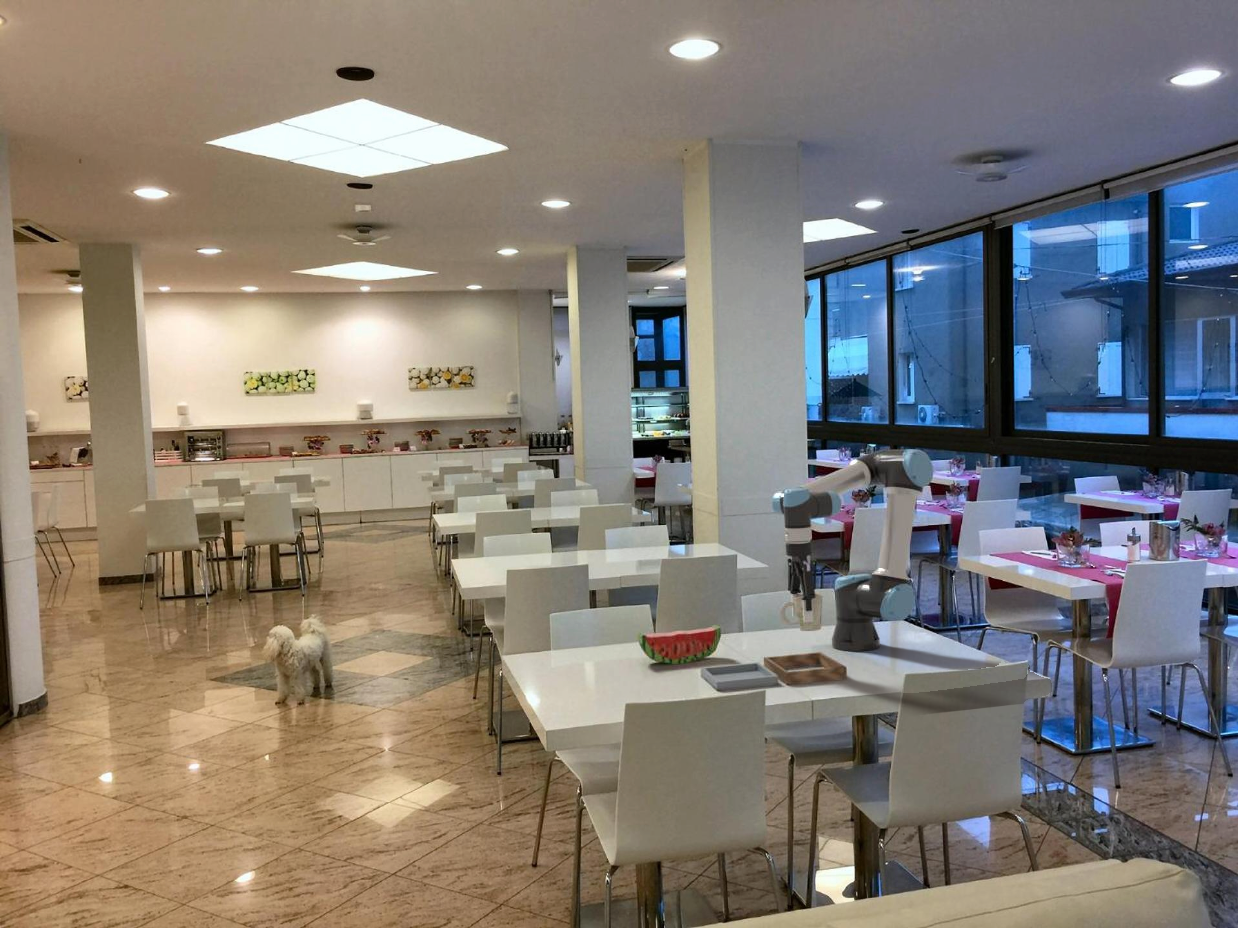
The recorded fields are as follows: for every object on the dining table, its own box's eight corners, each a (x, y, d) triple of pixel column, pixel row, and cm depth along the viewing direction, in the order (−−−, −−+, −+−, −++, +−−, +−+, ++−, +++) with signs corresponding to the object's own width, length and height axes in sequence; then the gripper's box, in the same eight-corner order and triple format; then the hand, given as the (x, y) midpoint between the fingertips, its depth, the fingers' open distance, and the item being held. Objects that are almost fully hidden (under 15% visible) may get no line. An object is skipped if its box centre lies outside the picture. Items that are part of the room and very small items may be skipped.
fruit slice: (643, 667, 307) (641, 635, 306) (638, 663, 313) (636, 631, 312) (723, 659, 313) (721, 627, 312) (716, 654, 319) (715, 624, 318)
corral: (820, 663, 301) (820, 651, 301) (846, 678, 282) (846, 666, 282) (764, 668, 298) (763, 657, 298) (786, 685, 279) (786, 672, 278)
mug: (825, 631, 284) (822, 596, 284) (781, 633, 287) (778, 598, 287) (825, 626, 292) (822, 592, 293) (782, 628, 295) (779, 595, 295)
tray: (759, 670, 296) (758, 662, 296) (778, 684, 279) (778, 675, 279) (700, 676, 293) (700, 667, 293) (716, 690, 276) (716, 681, 276)
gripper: (774, 538, 298) (778, 613, 299) (799, 546, 277) (803, 627, 278) (797, 536, 299) (801, 611, 300) (824, 544, 278) (828, 624, 280)
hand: (802, 618), depth 289 cm, fingers closed on mug, 8 cm apart
